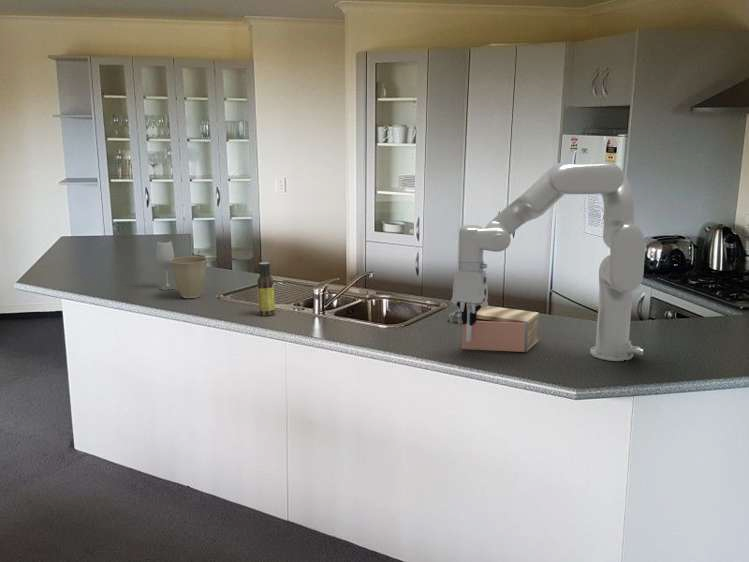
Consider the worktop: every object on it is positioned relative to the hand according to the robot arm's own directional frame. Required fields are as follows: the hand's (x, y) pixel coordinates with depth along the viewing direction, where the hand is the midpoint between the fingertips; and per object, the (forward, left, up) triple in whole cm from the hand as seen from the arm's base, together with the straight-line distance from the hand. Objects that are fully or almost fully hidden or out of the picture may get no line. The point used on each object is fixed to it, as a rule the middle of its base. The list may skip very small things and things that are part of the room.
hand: (468, 323), depth 218 cm
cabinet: (-6, -16, -10) cm, 19 cm away
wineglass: (+149, -18, -10) cm, 151 cm away
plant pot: (+129, -12, -10) cm, 130 cm away
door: (-7, -4, -9) cm, 12 cm away
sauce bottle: (+84, -6, -10) cm, 85 cm away
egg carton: (+16, -34, -10) cm, 39 cm away
